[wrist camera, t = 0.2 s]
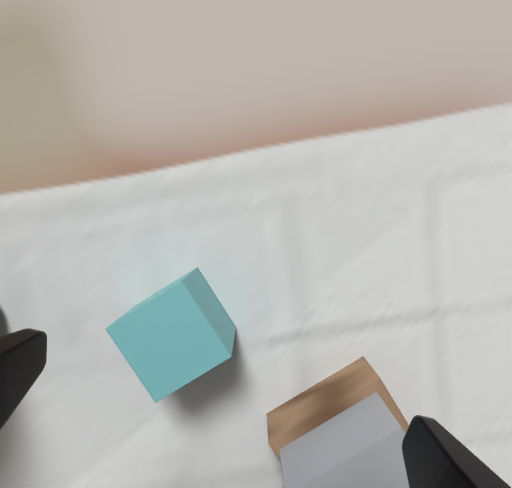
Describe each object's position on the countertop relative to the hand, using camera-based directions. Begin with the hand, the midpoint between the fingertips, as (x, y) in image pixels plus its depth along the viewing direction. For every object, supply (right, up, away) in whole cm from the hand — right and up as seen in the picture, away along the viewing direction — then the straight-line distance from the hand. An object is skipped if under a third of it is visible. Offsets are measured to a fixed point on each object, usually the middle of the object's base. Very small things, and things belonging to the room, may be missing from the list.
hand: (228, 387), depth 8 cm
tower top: (+7, -10, +13) cm, 18 cm away
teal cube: (-4, -2, +15) cm, 16 cm away
